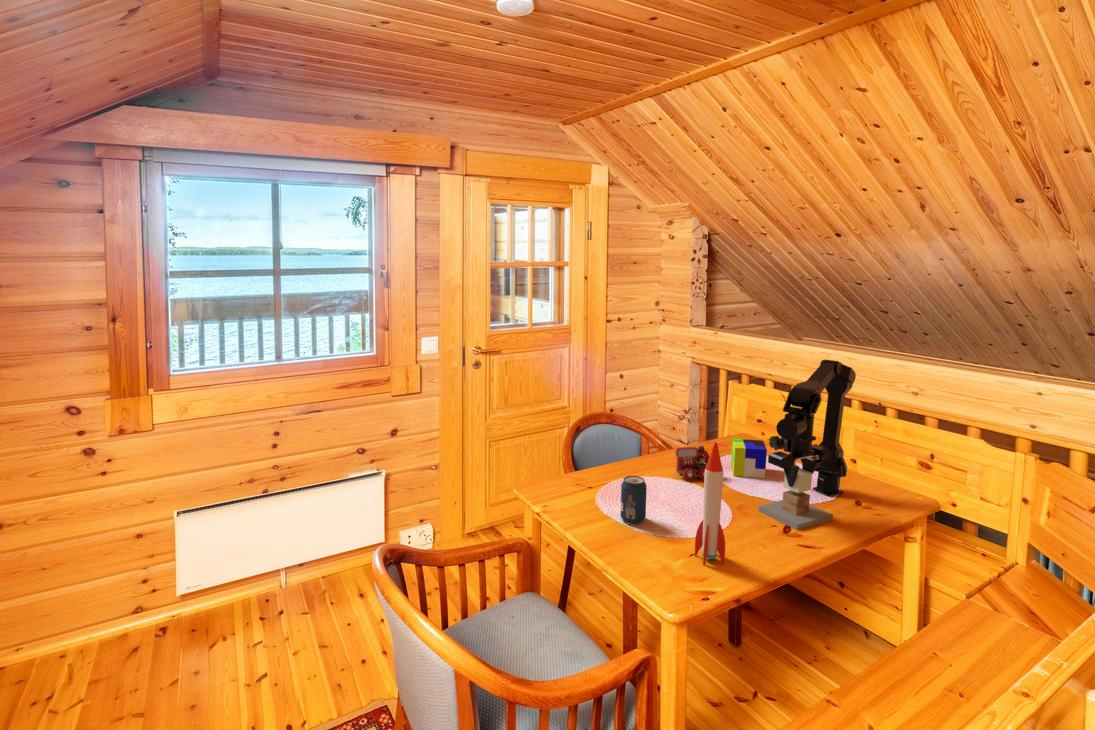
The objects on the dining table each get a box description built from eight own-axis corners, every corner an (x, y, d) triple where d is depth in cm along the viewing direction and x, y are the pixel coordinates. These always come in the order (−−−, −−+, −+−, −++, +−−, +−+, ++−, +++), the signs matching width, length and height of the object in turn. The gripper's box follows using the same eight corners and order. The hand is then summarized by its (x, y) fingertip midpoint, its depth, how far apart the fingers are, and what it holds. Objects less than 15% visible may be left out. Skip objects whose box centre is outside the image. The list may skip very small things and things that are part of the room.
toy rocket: (694, 555, 158) (698, 439, 152) (715, 553, 159) (720, 437, 153) (703, 566, 152) (708, 446, 147) (725, 564, 153) (731, 444, 148)
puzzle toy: (764, 478, 209) (766, 449, 207) (733, 476, 211) (735, 447, 209) (761, 468, 219) (763, 440, 217) (730, 466, 220) (732, 438, 219)
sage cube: (796, 483, 183) (797, 467, 182) (810, 489, 178) (812, 473, 177) (783, 486, 180) (785, 470, 180) (798, 493, 176) (799, 475, 175)
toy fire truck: (715, 479, 208) (717, 449, 206) (679, 481, 206) (680, 451, 204) (706, 472, 215) (708, 442, 213) (671, 474, 213) (672, 444, 211)
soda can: (640, 514, 181) (642, 474, 179) (648, 524, 175) (650, 483, 173) (617, 515, 180) (618, 475, 178) (624, 526, 174) (625, 484, 171)
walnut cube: (794, 505, 184) (795, 488, 183) (808, 511, 180) (810, 495, 179) (782, 508, 182) (783, 492, 181) (795, 515, 177) (797, 498, 176)
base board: (793, 501, 190) (793, 497, 190) (832, 519, 178) (833, 514, 178) (758, 510, 184) (758, 505, 184) (796, 529, 172) (797, 524, 171)
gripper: (802, 420, 187) (798, 470, 190) (755, 428, 179) (751, 481, 182) (834, 430, 178) (829, 482, 181) (786, 439, 169) (781, 494, 172)
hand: (797, 484), depth 179 cm, fingers closed on sage cube, 5 cm apart
